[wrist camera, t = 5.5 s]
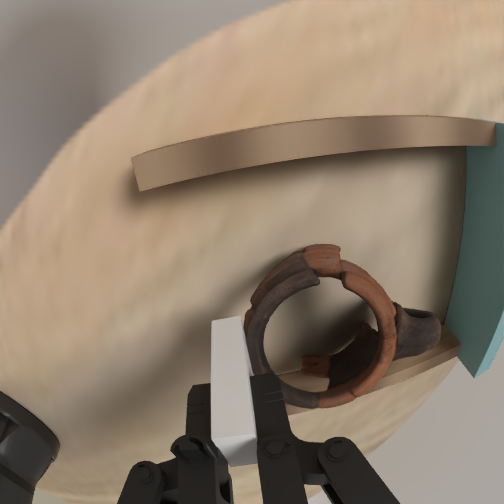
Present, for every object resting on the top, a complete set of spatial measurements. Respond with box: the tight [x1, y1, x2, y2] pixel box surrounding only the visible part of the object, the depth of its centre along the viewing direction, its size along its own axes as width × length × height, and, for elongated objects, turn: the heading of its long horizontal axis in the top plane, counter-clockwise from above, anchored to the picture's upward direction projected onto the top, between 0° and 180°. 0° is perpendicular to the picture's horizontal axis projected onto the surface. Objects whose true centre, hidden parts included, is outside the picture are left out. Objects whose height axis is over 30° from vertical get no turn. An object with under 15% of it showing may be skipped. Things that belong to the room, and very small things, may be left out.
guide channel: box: [131, 115, 497, 415], centre depth 16 cm, size 20×19×3 cm
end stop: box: [444, 118, 504, 378], centre depth 15 cm, size 2×19×6 cm, turn 10°
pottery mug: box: [244, 244, 441, 409], centre depth 16 cm, size 12×10×8 cm
